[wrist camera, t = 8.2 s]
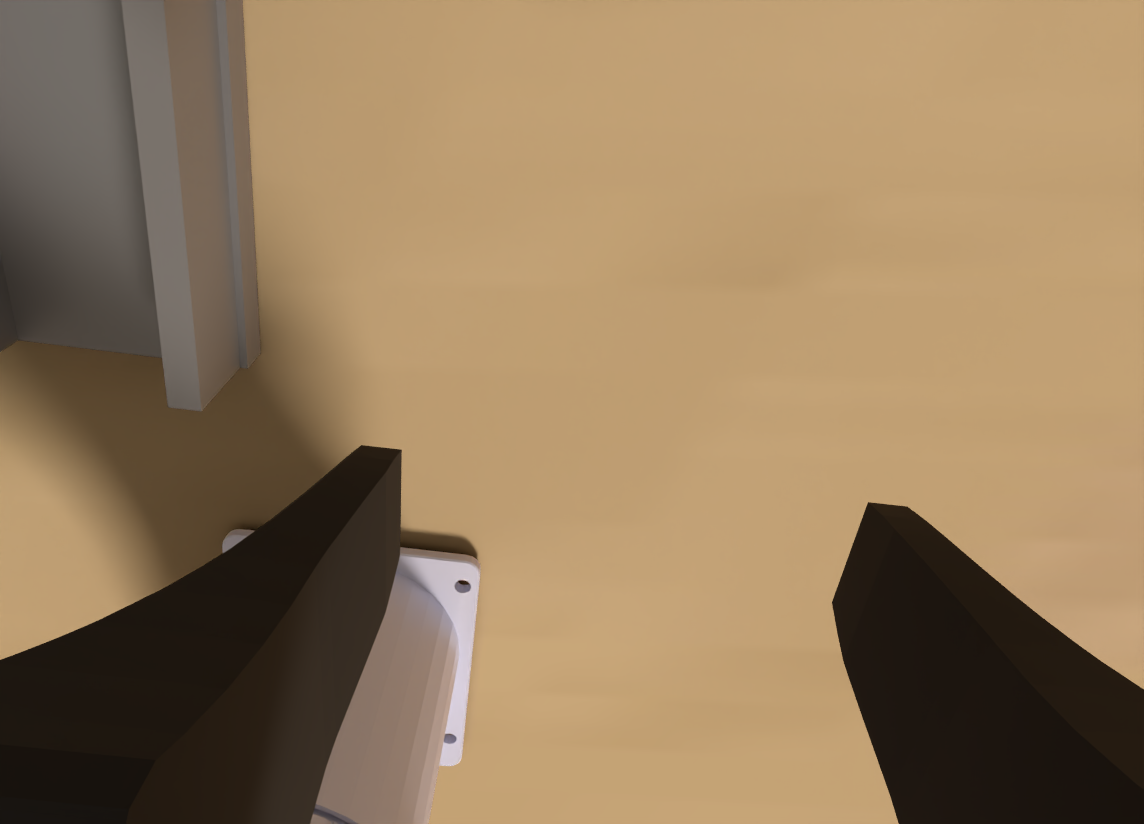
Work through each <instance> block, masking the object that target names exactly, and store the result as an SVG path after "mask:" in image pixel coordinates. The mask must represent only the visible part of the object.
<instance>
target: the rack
mask: <svg viewBox="0 0 1144 824" xmlns="http://www.w3.org/2000/svg"><path fill="white" fill-rule="evenodd" d="M18 340H20V341H29V342H37V343H45V344H53V345H61V346H69V347H77V348H85V349H93V350H101V351H110V352H118V353H126V354H134V355H142V356H150V357H158V358H162V361H163V369H164V378H165V387H166V395H167V404H168V407H169V408H177V409H185V410H194V411H202V410H203V409H204V408H205V407H206V406H207V405H208V404H209V402H210V401H211V400H212V399H213V398H214V397H215V396H216V395H217V393H218V392H219V391H220V390H221V389H222V388H223V387H224V385H225V384H226V383H227V382H228V381H229V380H230V379H231V378H232V376H233V375H234V374H235V373H236V372H237V371H238V370H239V368H247V369H248V368H249V367H250V365H251V364H252V363H253V362H254V361H255V360H256V358H257V357H258V356H259V355H260V354H261V347H260V328H259V309H258V289H257V270H256V251H255V232H254V212H253V193H252V174H251V155H250V135H249V116H248V97H247V78H246V58H245V39H244V20H243V1H242V0H0V352H1V351H2V350H4V349H6V348H7V347H9V346H10V345H12V344H13V343H15V342H16V341H18Z"/></svg>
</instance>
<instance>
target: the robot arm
mask: <svg viewBox="0 0 1144 824" xmlns="http://www.w3.org/2000/svg"><path fill="white" fill-rule="evenodd" d="M401 453H402V450H398V449H390V448H381V447H372V446H363V445H361V446H360V447H359V448H357V449H356V450H355V451H353V452H352V453H351V454H350V455H349V456H347V457H346V458H345V459H344V460H343V461H342V462H340V463H339V464H338V465H337V466H336V467H335V468H333V469H332V470H331V471H330V472H329V473H328V474H326V475H325V476H324V477H323V478H322V479H320V480H319V481H318V482H317V483H316V484H315V485H313V486H312V487H311V488H310V489H309V490H307V491H306V492H305V493H304V494H302V495H301V496H300V497H299V498H297V499H296V500H295V501H294V502H292V503H291V504H290V505H289V506H287V507H286V508H285V509H284V510H282V511H281V512H280V513H279V514H277V515H276V516H275V517H273V518H272V519H271V520H270V521H268V522H267V523H265V524H264V525H263V526H261V527H260V528H258V529H257V530H256V531H254V530H245V529H235V530H232V531H230V532H229V533H228V534H227V536H226V537H225V539H224V540H223V543H222V551H223V554H221V555H220V556H218V557H217V558H215V559H213V560H212V561H210V562H208V563H207V564H205V565H204V566H202V567H200V568H198V569H197V570H195V571H193V572H192V573H190V574H188V575H186V576H185V577H183V578H181V579H179V580H178V581H176V582H174V583H172V584H171V585H169V586H167V587H165V588H163V589H161V590H160V591H157V592H155V593H153V594H151V595H149V596H147V597H145V598H143V599H141V600H139V601H137V602H135V603H133V604H131V605H129V606H127V607H125V608H123V609H121V610H119V611H117V612H115V613H113V614H111V615H109V616H107V617H104V618H102V619H100V620H98V621H96V622H94V623H92V624H89V625H87V626H85V627H82V628H80V629H78V630H75V631H73V632H71V633H68V634H66V635H63V636H61V637H59V638H56V639H54V640H51V641H49V642H46V643H44V644H41V645H39V646H36V647H33V648H31V649H28V650H26V651H23V652H21V653H18V654H15V655H13V656H10V657H7V658H4V659H2V660H0V824H428V823H429V818H430V812H431V807H432V802H433V796H434V791H435V785H436V780H437V775H438V769H439V765H441V766H453V765H456V764H458V763H459V762H460V760H461V758H462V752H463V742H464V732H465V722H466V712H467V702H468V692H469V682H470V673H471V663H472V653H473V643H474V633H475V623H476V613H477V603H478V593H479V583H480V573H481V566H480V563H479V562H478V560H477V559H475V558H474V557H473V556H469V555H465V554H456V553H447V552H438V551H429V550H421V549H412V548H403V547H400V525H401ZM459 580H465V581H468V582H469V583H470V584H468V585H462V584H459V583H458V582H457V581H459ZM832 605H833V610H834V616H835V622H836V627H837V633H838V638H839V642H840V647H841V652H842V656H843V661H844V664H845V667H846V670H847V673H848V676H849V679H850V682H851V685H852V688H853V691H854V694H855V697H856V700H857V703H858V706H859V709H860V711H861V714H862V717H863V720H864V723H865V725H866V728H867V731H868V734H869V737H870V740H871V742H872V745H873V748H874V751H875V754H876V757H877V759H878V762H879V765H880V768H881V771H882V774H883V776H884V779H885V782H886V785H887V788H888V790H889V793H890V796H891V800H892V803H893V806H894V809H895V813H896V816H897V819H898V823H899V824H1144V689H1142V688H1141V687H1139V686H1137V685H1136V684H1134V683H1133V682H1131V681H1130V680H1128V679H1127V678H1125V677H1124V676H1122V675H1121V674H1119V673H1118V672H1116V671H1115V670H1113V669H1112V668H1110V667H1109V666H1107V665H1106V664H1104V663H1103V662H1101V661H1100V660H1099V659H1097V658H1096V657H1094V656H1093V655H1092V654H1090V653H1089V652H1087V651H1086V650H1085V649H1083V648H1082V647H1080V646H1079V645H1078V644H1076V643H1075V642H1074V641H1072V640H1071V639H1070V638H1068V637H1067V636H1066V635H1064V634H1063V633H1062V632H1061V631H1059V630H1058V629H1057V628H1055V627H1054V626H1053V625H1051V624H1050V623H1049V622H1047V621H1046V620H1045V619H1043V618H1042V617H1041V616H1039V615H1038V614H1037V613H1036V612H1034V611H1033V610H1032V609H1031V608H1029V607H1028V606H1027V605H1026V604H1024V603H1023V602H1022V601H1021V600H1019V599H1018V598H1017V597H1016V596H1015V595H1013V594H1012V593H1011V592H1010V591H1009V590H1007V589H1006V588H1005V587H1004V586H1002V585H1001V584H1000V583H999V582H998V581H997V580H995V579H994V578H993V577H992V576H991V575H989V574H988V573H987V572H986V571H985V570H983V569H982V568H981V567H980V566H979V565H978V564H976V563H975V562H974V561H973V560H972V559H971V558H969V557H968V556H967V555H966V554H965V553H964V552H962V551H961V550H960V549H959V548H958V547H957V546H955V545H954V544H953V543H952V542H951V541H949V540H948V539H947V538H946V537H945V536H944V535H942V534H941V533H940V532H939V531H938V530H936V529H935V528H934V527H933V526H932V525H930V524H929V523H928V522H927V521H925V520H924V519H923V518H922V517H920V516H919V515H918V514H916V513H915V512H914V511H912V510H911V509H910V508H908V507H905V506H896V505H887V504H878V503H869V502H868V504H867V507H866V510H865V512H864V515H863V518H862V521H861V523H860V526H859V529H858V532H857V535H856V537H855V540H854V543H853V546H852V548H851V551H850V554H849V557H848V560H847V562H846V565H845V568H844V571H843V573H842V576H841V579H840V582H839V585H838V587H837V590H836V593H835V596H834V598H833V601H832ZM450 734H453V735H450Z"/></svg>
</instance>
